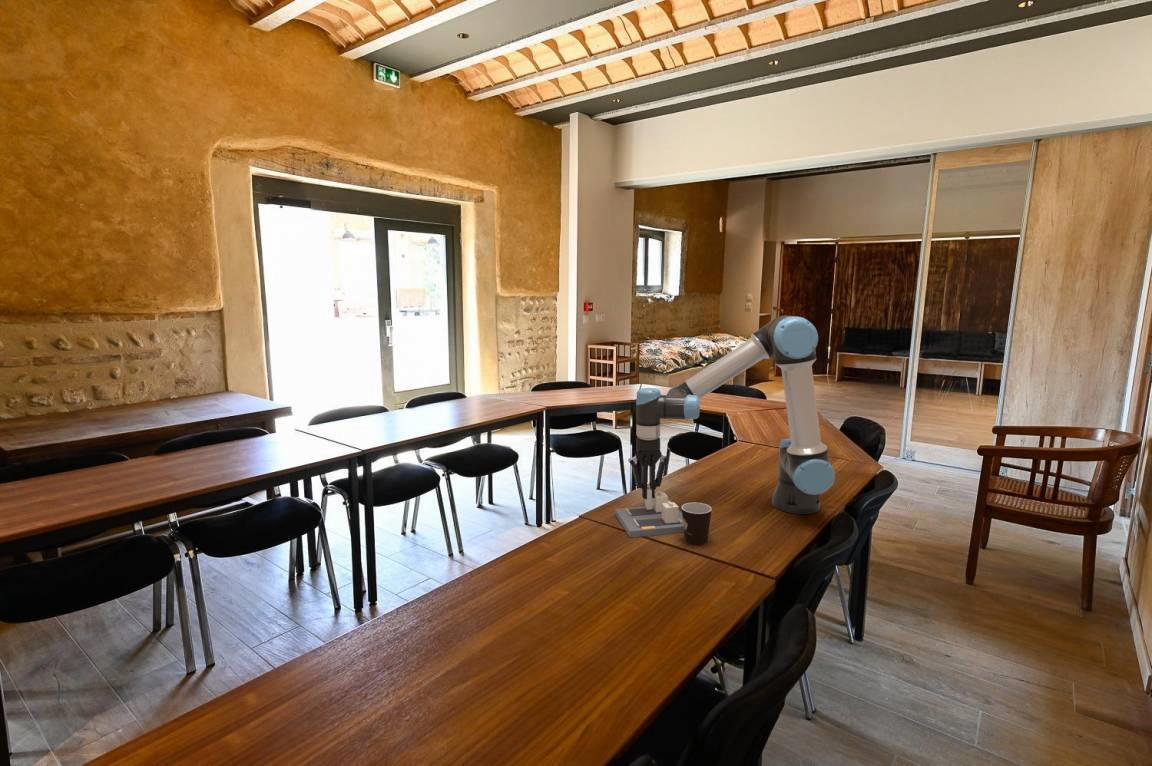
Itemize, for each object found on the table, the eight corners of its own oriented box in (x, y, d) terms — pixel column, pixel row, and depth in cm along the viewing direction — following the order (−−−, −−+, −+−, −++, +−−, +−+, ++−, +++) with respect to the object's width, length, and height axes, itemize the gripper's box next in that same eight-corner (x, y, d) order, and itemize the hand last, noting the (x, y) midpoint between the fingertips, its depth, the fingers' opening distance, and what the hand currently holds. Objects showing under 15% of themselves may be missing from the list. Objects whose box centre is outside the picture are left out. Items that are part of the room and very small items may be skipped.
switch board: (673, 509, 189) (673, 502, 189) (693, 531, 172) (693, 523, 171) (615, 514, 186) (615, 507, 186) (630, 537, 168) (630, 529, 168)
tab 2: (673, 517, 177) (674, 499, 176) (678, 522, 173) (678, 504, 172) (661, 518, 176) (661, 500, 175) (665, 523, 172) (666, 505, 172)
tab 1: (664, 506, 186) (664, 489, 185) (668, 511, 182) (668, 494, 181) (652, 507, 185) (652, 490, 184) (656, 512, 181) (656, 495, 180)
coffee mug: (711, 547, 161) (712, 514, 159) (680, 545, 163) (680, 512, 161) (710, 531, 172) (711, 499, 170) (682, 529, 174) (682, 498, 172)
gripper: (664, 432, 184) (663, 502, 187) (625, 435, 181) (625, 505, 185) (672, 438, 176) (671, 510, 180) (631, 441, 174) (632, 514, 178)
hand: (648, 507), depth 183 cm, fingers closed
